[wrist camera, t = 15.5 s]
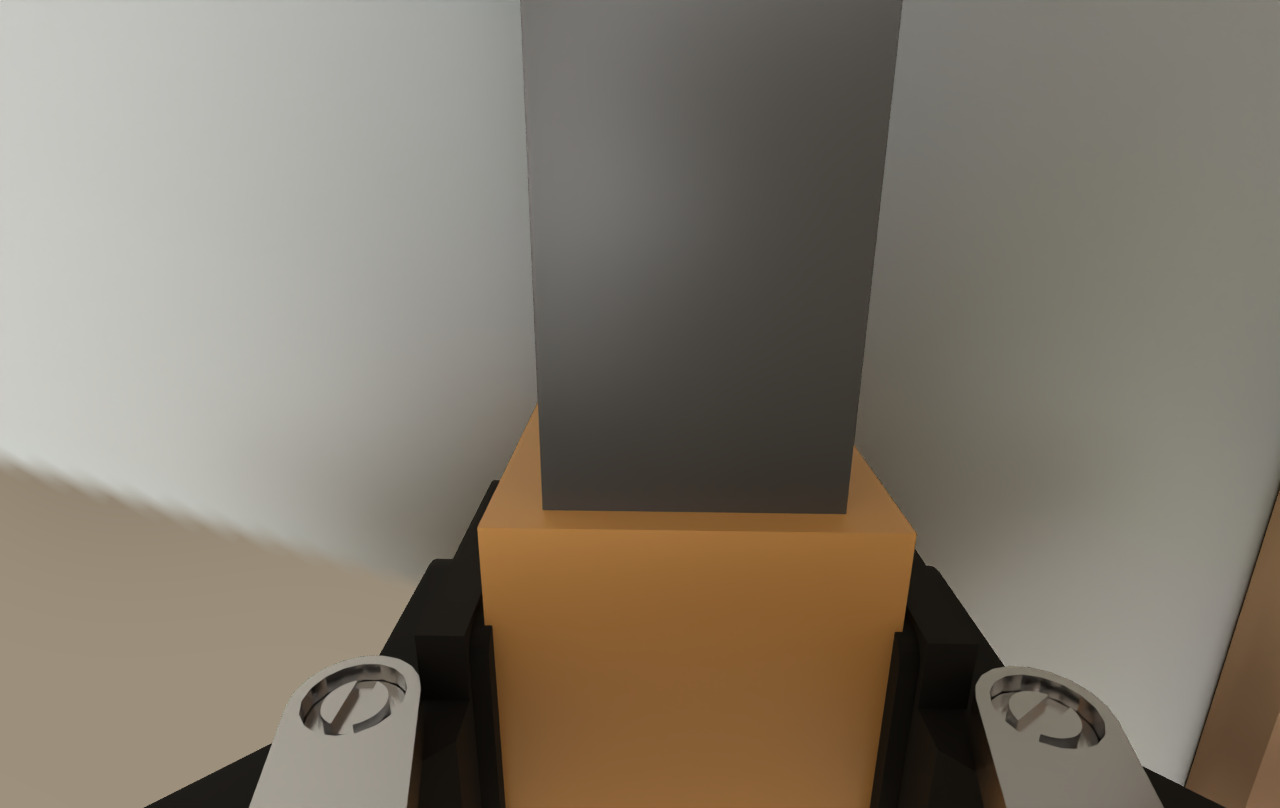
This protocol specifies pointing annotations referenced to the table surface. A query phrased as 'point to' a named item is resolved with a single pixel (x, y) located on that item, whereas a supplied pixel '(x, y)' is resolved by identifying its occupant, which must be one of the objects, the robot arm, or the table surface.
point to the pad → (1247, 698)
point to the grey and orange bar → (698, 412)
